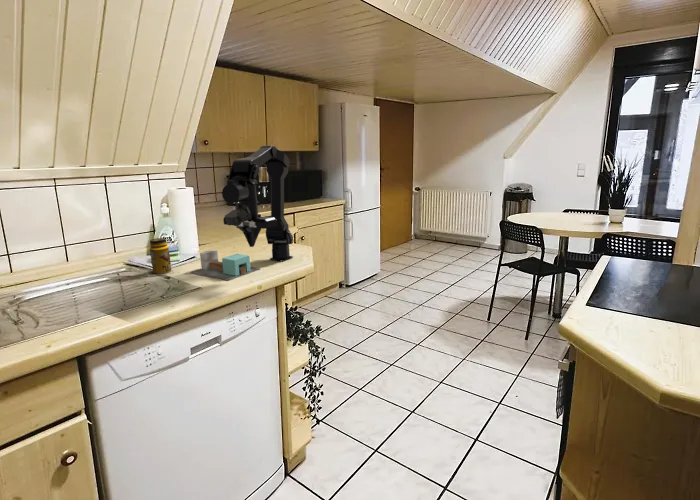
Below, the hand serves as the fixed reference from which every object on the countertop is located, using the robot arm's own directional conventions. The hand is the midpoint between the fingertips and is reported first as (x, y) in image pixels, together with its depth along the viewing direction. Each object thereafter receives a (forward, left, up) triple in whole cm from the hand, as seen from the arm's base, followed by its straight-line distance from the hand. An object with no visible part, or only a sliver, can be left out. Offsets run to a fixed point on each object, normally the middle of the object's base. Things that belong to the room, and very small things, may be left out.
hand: (251, 246), depth 133 cm
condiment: (+12, -34, -11) cm, 38 cm away
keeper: (0, -8, -10) cm, 13 cm away
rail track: (0, -14, -10) cm, 17 cm away
